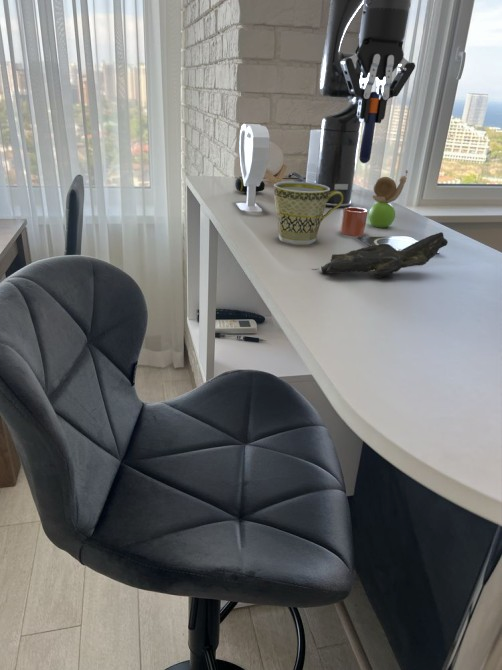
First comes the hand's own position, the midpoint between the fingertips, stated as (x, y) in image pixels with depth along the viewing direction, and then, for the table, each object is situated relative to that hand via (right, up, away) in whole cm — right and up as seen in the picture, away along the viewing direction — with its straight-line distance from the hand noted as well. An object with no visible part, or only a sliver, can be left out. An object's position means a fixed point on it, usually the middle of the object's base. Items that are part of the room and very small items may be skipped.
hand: (369, 122), depth 91 cm
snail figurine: (+6, -16, +16) cm, 23 cm away
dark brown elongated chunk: (-1, -29, -11) cm, 31 cm away
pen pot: (-1, -18, +10) cm, 21 cm away
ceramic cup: (-11, -21, +4) cm, 24 cm away
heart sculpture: (-22, -9, +26) cm, 35 cm away
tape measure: (-22, 0, +45) cm, 50 cm away
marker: (0, -6, +3) cm, 7 cm away
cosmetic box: (0, +5, +58) cm, 58 cm away
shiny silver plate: (+6, -22, +3) cm, 23 cm away
